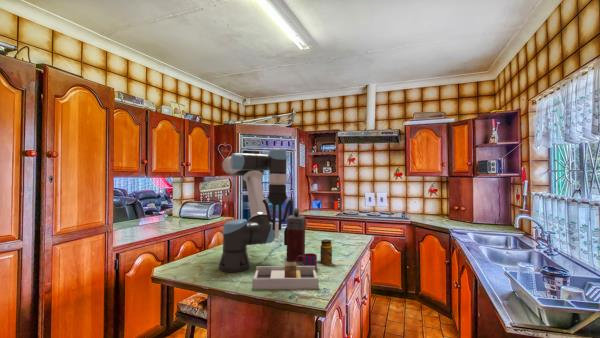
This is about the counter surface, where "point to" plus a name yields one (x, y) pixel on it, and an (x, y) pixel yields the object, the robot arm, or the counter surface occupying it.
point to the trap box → (276, 278)
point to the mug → (309, 260)
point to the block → (290, 269)
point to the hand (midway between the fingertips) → (276, 237)
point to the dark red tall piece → (295, 236)
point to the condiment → (326, 253)
